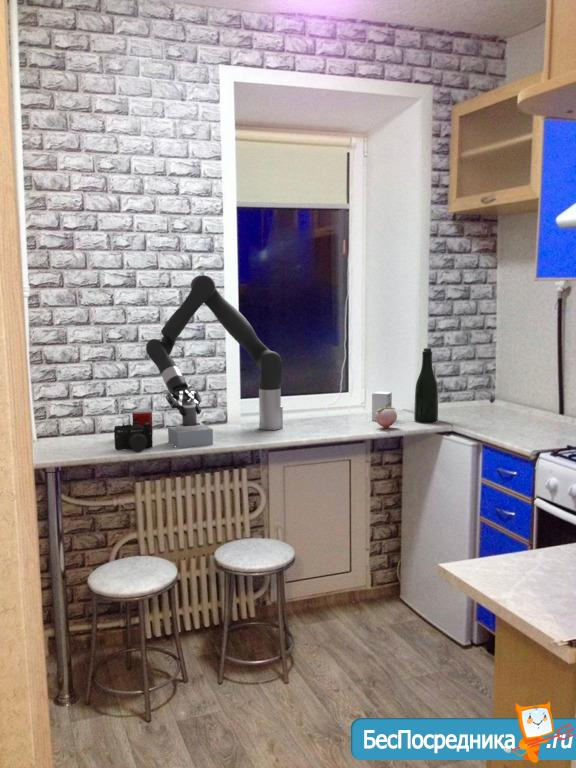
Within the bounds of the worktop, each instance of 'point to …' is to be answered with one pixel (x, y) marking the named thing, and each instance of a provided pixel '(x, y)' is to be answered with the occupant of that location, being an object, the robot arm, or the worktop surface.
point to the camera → (133, 436)
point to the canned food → (142, 416)
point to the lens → (189, 414)
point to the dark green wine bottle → (426, 391)
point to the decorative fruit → (386, 416)
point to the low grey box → (190, 435)
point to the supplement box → (380, 402)
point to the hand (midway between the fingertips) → (192, 414)
